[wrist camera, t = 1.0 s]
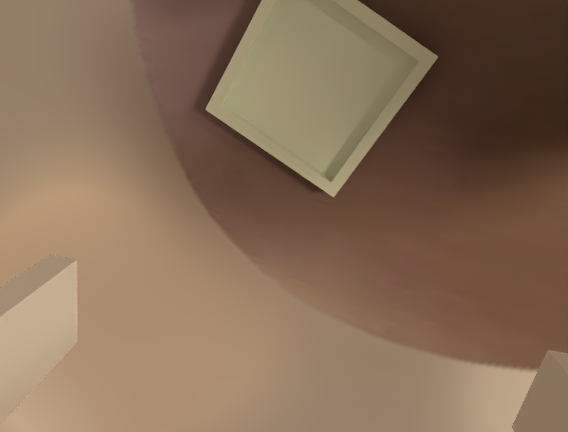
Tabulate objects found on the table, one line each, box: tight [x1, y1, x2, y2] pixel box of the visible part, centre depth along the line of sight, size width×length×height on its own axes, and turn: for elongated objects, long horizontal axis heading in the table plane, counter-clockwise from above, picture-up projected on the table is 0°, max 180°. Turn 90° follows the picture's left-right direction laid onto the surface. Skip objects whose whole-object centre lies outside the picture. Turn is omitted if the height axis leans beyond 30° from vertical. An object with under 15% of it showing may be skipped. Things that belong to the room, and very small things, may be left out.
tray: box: [205, 0, 438, 197], centre depth 34 cm, size 14×14×2 cm
